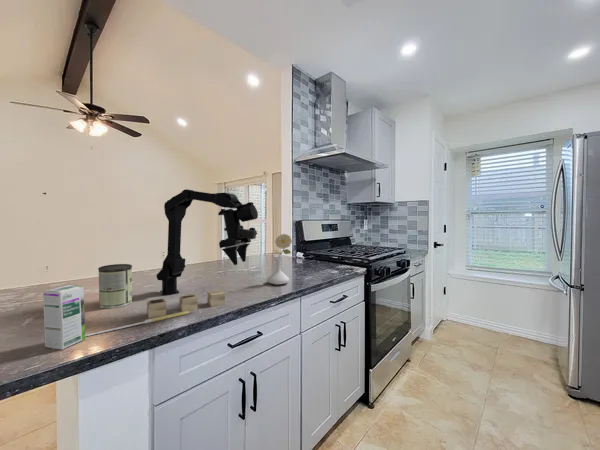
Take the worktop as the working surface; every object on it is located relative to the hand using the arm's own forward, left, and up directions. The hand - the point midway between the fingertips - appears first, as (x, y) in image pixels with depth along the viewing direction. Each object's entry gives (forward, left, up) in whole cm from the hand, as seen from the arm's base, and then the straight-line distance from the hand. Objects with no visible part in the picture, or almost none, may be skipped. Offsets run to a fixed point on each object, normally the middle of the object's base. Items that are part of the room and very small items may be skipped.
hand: (240, 263), depth 104 cm
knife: (+4, -36, -16) cm, 40 cm away
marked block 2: (-1, -19, -15) cm, 24 cm away
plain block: (-1, -9, -15) cm, 18 cm away
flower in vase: (-14, +27, -15) cm, 34 cm away
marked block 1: (-2, -29, -15) cm, 33 cm away
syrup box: (+8, -51, -15) cm, 54 cm away
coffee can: (-21, -40, -15) cm, 48 cm away
